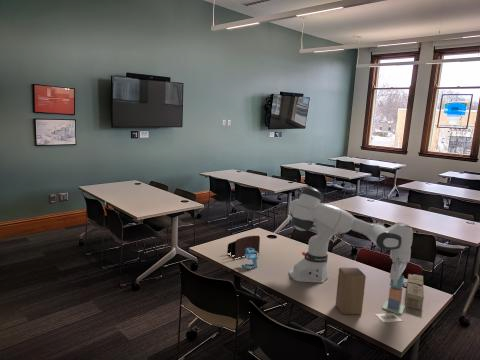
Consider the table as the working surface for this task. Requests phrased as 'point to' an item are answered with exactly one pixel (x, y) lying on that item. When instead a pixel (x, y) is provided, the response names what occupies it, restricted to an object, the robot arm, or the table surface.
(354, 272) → the wooden block
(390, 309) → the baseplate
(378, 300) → the table surface
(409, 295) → the block tower
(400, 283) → the teal cube
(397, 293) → the orange cube
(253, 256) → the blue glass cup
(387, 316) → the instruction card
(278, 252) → the table surface
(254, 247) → the letter holder
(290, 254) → the table surface
